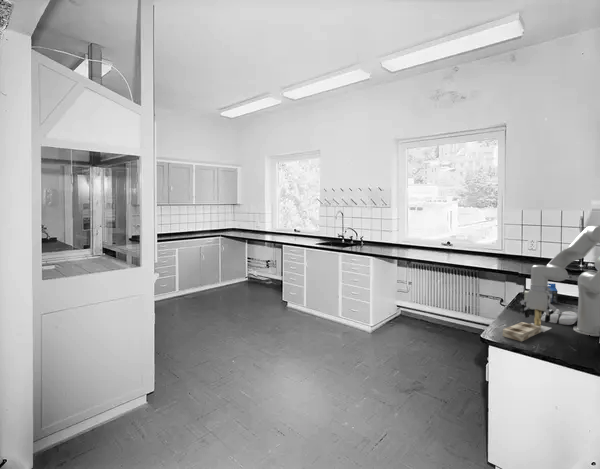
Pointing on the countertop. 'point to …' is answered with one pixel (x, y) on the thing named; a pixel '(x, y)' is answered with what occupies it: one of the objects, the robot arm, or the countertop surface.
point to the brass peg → (537, 317)
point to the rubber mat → (544, 328)
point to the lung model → (562, 317)
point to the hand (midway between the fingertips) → (536, 319)
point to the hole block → (521, 331)
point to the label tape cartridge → (553, 293)
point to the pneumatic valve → (524, 296)
